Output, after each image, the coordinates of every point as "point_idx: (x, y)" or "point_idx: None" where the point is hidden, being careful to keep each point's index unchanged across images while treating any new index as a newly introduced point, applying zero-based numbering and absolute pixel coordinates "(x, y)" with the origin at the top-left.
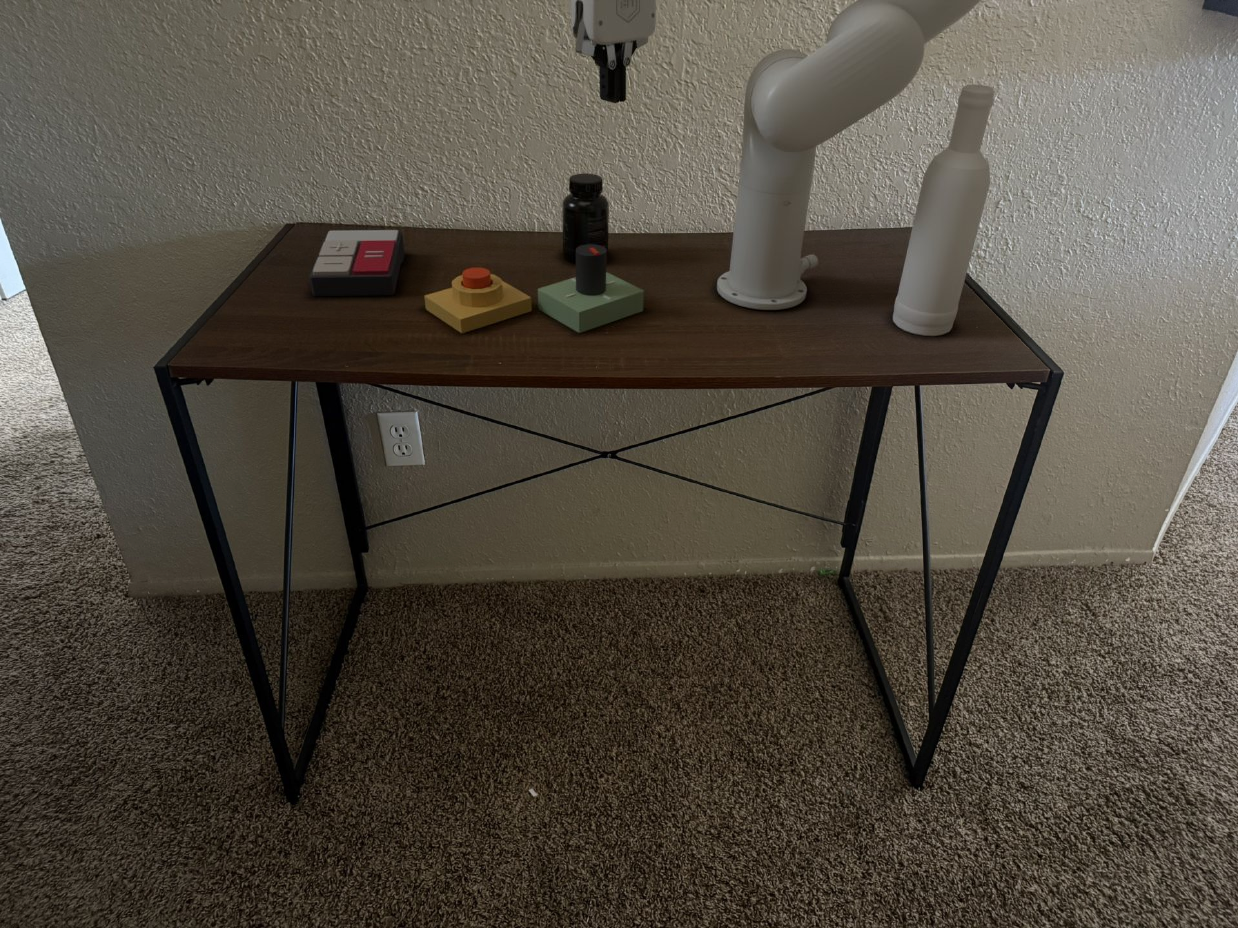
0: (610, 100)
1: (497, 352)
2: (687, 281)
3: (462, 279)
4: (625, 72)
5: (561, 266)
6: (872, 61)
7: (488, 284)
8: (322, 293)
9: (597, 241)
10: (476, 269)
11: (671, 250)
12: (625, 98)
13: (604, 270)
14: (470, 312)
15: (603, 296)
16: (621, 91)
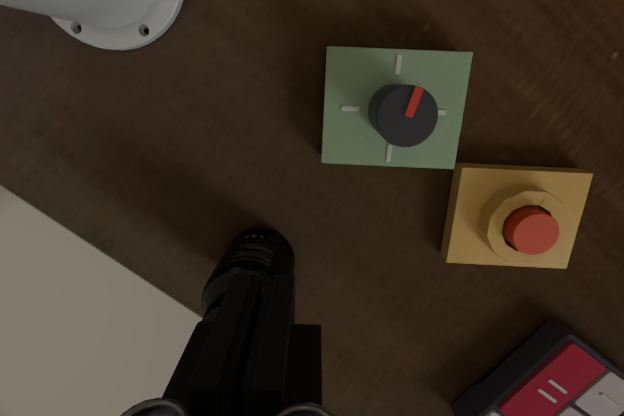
0: (294, 312)
1: (590, 86)
2: (188, 89)
3: None
4: (202, 363)
5: (311, 255)
6: None
7: (524, 209)
8: (617, 366)
9: (259, 241)
10: (526, 244)
11: (130, 197)
12: (234, 277)
13: (392, 86)
14: (566, 183)
15: (400, 71)
16: (250, 303)
